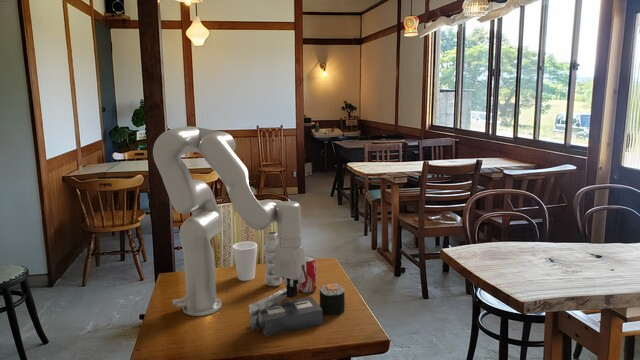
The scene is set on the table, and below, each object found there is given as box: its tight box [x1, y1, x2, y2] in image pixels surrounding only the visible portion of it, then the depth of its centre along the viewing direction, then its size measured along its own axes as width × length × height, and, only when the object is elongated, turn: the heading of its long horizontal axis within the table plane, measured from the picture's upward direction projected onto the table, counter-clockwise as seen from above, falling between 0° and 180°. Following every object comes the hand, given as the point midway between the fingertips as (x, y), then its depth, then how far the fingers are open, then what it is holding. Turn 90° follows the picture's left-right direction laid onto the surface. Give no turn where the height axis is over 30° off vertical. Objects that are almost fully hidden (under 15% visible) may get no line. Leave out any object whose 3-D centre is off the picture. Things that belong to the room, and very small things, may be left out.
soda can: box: [297, 255, 318, 294], centre depth 166 cm, size 7×7×12 cm
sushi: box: [319, 282, 346, 316], centre depth 151 cm, size 8×8×8 cm
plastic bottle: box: [263, 231, 283, 287], centre depth 171 cm, size 6×7×20 cm
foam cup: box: [231, 241, 258, 282], centre depth 179 cm, size 10×9×13 cm
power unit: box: [249, 296, 324, 337], centre depth 143 cm, size 21×10×5 cm, turn 111°
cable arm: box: [248, 285, 300, 315], centre depth 145 cm, size 20×3×2 cm, turn 141°
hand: (292, 296), depth 148 cm, fingers closed
